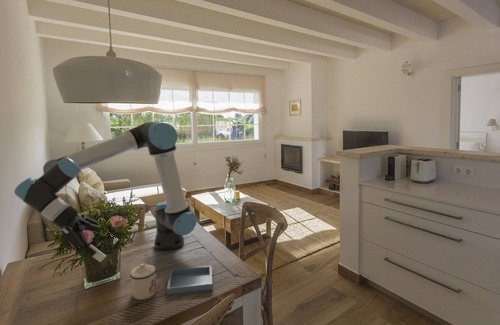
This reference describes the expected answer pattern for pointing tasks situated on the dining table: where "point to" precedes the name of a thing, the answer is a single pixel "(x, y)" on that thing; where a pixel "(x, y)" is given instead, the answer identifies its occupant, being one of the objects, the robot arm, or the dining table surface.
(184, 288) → the slate tray
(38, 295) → the dining table surface
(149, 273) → the teacup with lid
